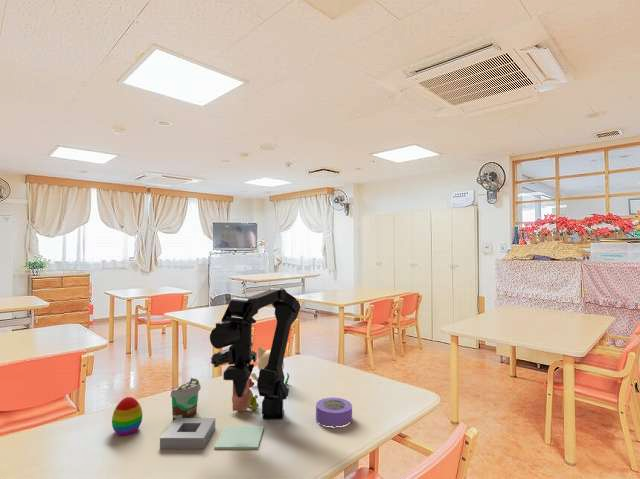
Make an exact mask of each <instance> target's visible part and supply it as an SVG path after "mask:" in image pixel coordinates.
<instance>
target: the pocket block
mask: <svg viewBox="0 0 640 479" xmlns="http://www.w3.org/2000/svg"><path fill="white" fill-rule="evenodd" d="M172 421H173V422H171V423H170V425H169V426H168V427H167V429H166V430H165V431H164V433H162V435H161V436H160V437H159V450H204V449H205V447H206V445H207V443H208V442H209V439H210V438H211V436H212V435H213V433H214V431H215V429H216V417H191V418H176V419H175V420H172Z"/></svg>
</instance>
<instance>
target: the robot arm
mask: <svg viewBox="0 0 640 479" xmlns="http://www.w3.org/2000/svg"><path fill="white" fill-rule="evenodd" d="M270 305H271V306H272V307H273V308H274V316H275V319H276V325H275V330H274V334H273V338H272V344H271V347H270V350H271V351H270V355H269V360H268V364H267V366H266V367H265V368H264V369H261V370H259V371H258V376H257V377H258V380H257V381H256V382H257V383H256V387H257V391H258V394H259V397H263V399H262V401H261V415H262V419H263V420H264V419H265V420H278V419H280V420H281V419H283V417H284V412H285V410H284V401H285V400H286V399H287V397H288V396H289V393H290V391H289V390H290V389H289V388H288V385H285V373H284V369H283V370H282V364H283V362H284V359H285V354H286V348H287V345H288V340H289V335H290V332H291V328H292V325H293V323H294V322H295V321H296V320H297V318H298V316H299V312H300V309H301V305H300V302H299V301H298V300H297V298H296V297H294V296H293V295H292V294H290V293H289V292H287V291H286V289H284V288H283V287H281V288H280V287H271V288H270V289H268V290H265V291H263V292H260V293H257V294H254V295H251V296H236V297H232V298H231V299H230V301H229V304H228V306H227V308H226V309H225V311H224V314H223V316H222V317H221V322H219V321H218V322H216V323H215V327H214V328H213V329H212V330H211V332H210V335H209V342H210V344H211V346H212V347H213V348H214V349H216V350H221V349H223V350H221V351H218V352H214V353H213V355H211V357H210V359H211V360H210V364H212V365H213V367H214V368H218V367H219V366H222V365H225V364H227V363H228V365H229V366H227V368H225V370H224V371H223V374H222V375H223V381H232V383H233V382H234V386H235V389H236V393H237V397H242V394H243V391H244V389H245V386H246V383H247V380H248V378H249V379H250V378H251V373H253V370H254V368H255V364H254V363H256V362H257V361H258V360H257V359H258V353H256V352H255V351H254V350H252V347H253V345H254V343H253V341H252V339H253V338H252V336H253V335H252V332H253V331H252V330H253V329H252V328H253V327H252V326H253V324H256V323H257V320H256V319H255V318H253V317H254V316H256V315H257V314H258V313H259V310H260V309H262V308H264V307H268V306H270ZM225 347H226V348H225ZM227 347H228V348H227ZM224 348H225V349H224ZM252 362H253V363H252ZM251 363H252V364H251Z"/></svg>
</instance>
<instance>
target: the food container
mask: <svg viewBox="0 0 640 479" xmlns="http://www.w3.org/2000/svg"><path fill="white" fill-rule="evenodd" d="M201 387H202V386H201V383H200V381H199V379H197V378H193V377H190V380H189V381H188V382H186V383H185V384H182V385H181V386H179V387H178V388H177V389H171V392H170V398H171V408H172V414H171V415H172V421H174V420H175V419H176V418H194V416H196V414H197V411H198V400H199V399H198V398H199V392H200V391H201Z"/></svg>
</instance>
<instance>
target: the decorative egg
mask: <svg viewBox="0 0 640 479" xmlns="http://www.w3.org/2000/svg"><path fill="white" fill-rule="evenodd" d="M111 418H112V419H111V426H112V429H113V431H114V432H115V433H116V435H119V436H128V435H131V434H133V433H135V432H137V430H138V429H139V428H140V426H141V424H142V421H143V409H142V407H141V404H140V402H139V401H138V400H137V399H136V398H134V397H132V396H127V397H124V398H123V399H122V400H120V401H119V403H118V404H117V405H116V407H115V408H114V410H113V414H112V416H111Z"/></svg>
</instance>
